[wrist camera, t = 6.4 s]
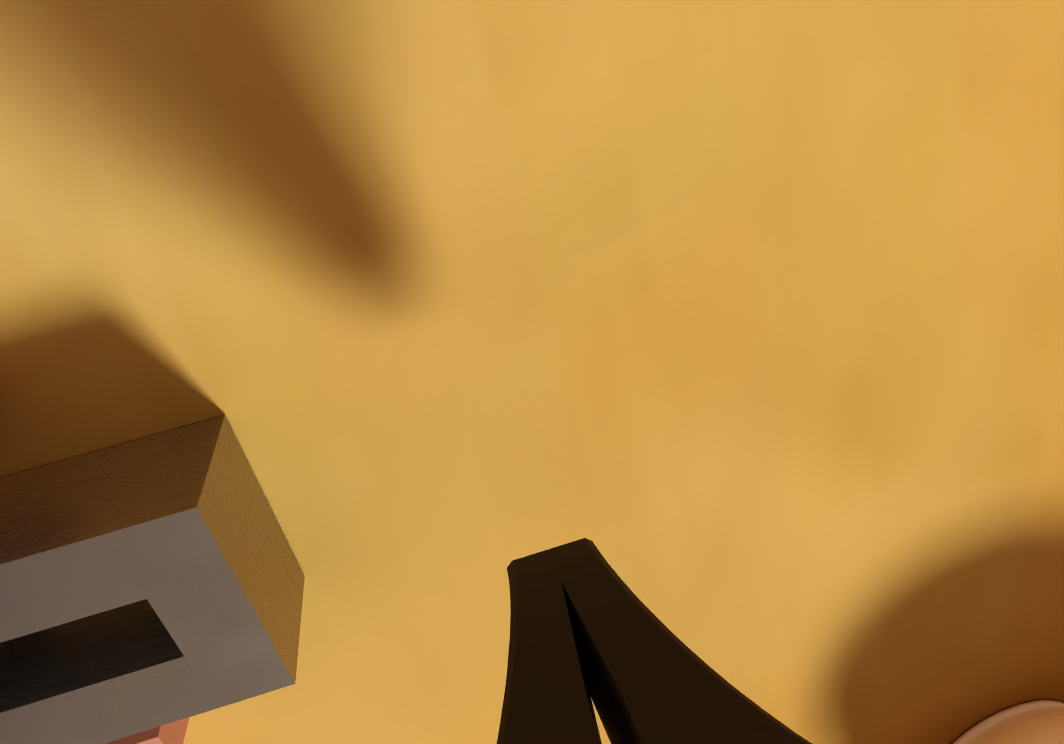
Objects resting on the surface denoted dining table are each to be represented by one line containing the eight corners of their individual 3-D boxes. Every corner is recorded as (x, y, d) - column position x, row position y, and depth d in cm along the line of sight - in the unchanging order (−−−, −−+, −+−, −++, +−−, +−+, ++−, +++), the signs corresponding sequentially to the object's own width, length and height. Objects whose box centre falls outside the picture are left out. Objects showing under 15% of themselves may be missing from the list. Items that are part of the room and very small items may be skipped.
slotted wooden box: (-8, 670, 16) (-78, 801, 14) (-140, 517, 14) (-253, 637, 11) (304, 575, 17) (295, 683, 14) (224, 414, 15) (196, 507, 12)
